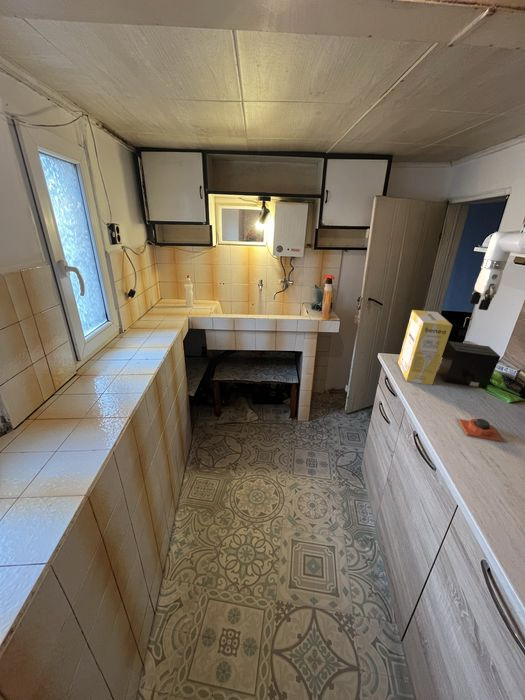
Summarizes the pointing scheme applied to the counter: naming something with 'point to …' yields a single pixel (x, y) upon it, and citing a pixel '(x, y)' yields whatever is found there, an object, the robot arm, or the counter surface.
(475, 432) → the switch block
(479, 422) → the button
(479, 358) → the toaster
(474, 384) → the press handle
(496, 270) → the robot arm
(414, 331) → the pasta box
